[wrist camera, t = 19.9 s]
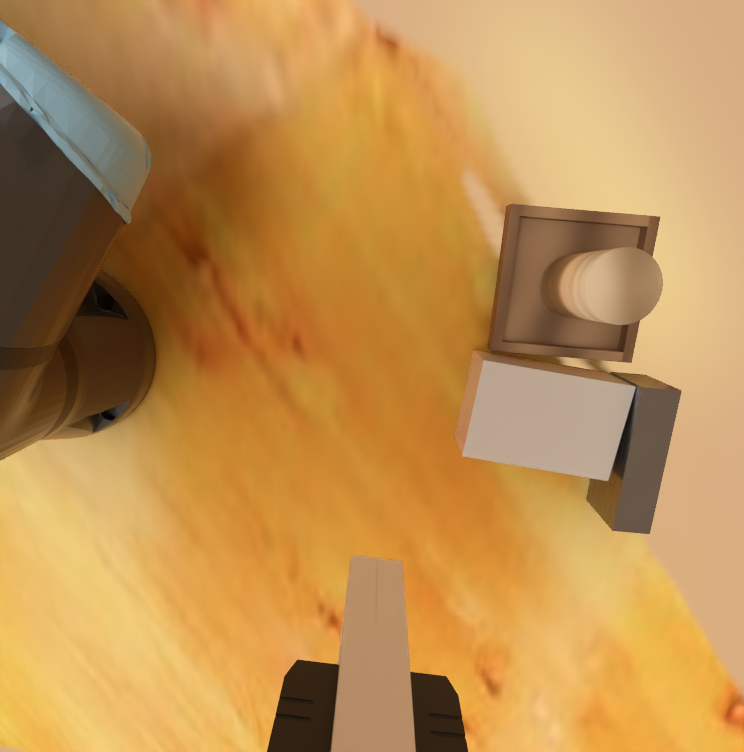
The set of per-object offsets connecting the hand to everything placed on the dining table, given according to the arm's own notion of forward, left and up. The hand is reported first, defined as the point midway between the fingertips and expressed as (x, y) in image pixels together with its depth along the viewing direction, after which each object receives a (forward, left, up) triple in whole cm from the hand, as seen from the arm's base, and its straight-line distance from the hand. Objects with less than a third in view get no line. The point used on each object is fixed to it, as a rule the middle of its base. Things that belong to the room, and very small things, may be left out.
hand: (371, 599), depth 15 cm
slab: (+13, -2, -31) cm, 34 cm away
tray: (+15, +9, -31) cm, 35 cm away
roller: (+15, +9, -30) cm, 35 cm away
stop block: (+21, -4, -31) cm, 37 cm away
